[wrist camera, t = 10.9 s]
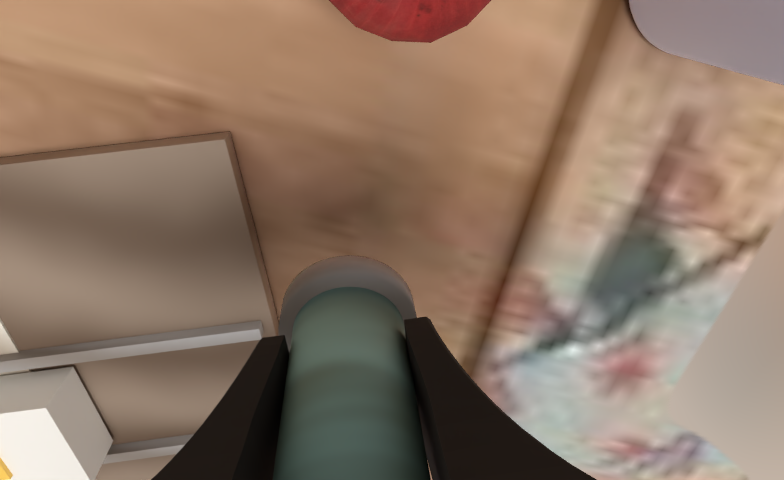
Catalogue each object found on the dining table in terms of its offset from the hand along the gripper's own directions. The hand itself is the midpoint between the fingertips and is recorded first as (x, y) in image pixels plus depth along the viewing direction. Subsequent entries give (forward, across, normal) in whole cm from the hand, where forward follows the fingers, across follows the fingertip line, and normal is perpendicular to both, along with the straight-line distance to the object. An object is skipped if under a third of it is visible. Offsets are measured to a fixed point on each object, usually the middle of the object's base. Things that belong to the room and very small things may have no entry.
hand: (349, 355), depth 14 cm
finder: (+8, +16, +8) cm, 20 cm away
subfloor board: (+9, +14, +5) cm, 17 cm away
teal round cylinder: (+2, 0, 0) cm, 2 cm away
